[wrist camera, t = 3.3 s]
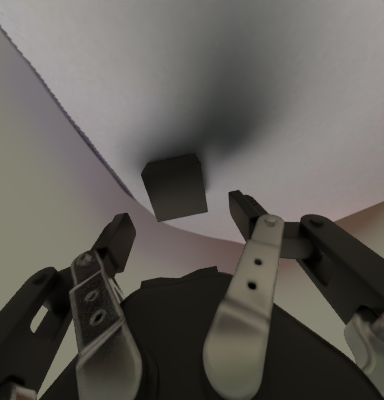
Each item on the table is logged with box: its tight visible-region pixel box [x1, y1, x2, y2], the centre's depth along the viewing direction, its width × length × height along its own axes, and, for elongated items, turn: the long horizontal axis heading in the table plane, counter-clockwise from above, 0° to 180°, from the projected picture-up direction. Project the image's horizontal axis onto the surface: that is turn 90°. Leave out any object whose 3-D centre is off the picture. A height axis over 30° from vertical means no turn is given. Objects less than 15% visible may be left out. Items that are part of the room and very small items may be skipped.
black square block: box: [141, 153, 208, 222], centre depth 17 cm, size 6×6×4 cm
